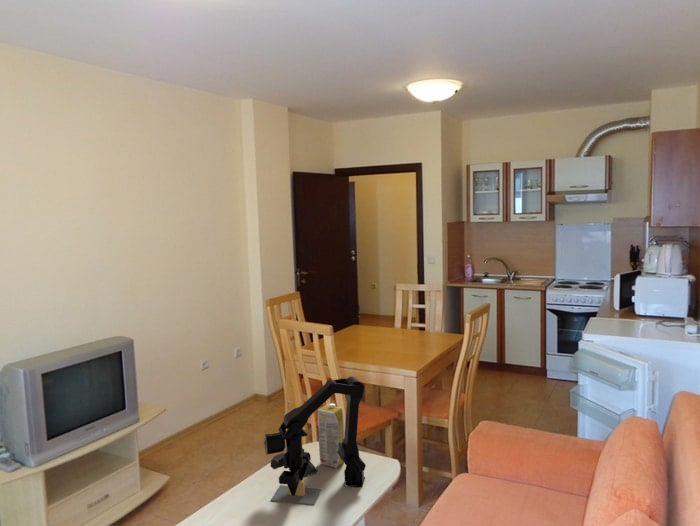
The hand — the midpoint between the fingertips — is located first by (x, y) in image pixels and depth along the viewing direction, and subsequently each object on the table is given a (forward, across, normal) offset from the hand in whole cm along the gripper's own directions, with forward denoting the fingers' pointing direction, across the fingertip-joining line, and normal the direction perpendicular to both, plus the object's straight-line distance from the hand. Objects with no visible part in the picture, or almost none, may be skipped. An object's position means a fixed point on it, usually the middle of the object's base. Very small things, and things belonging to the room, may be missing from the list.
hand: (296, 490), depth 190 cm
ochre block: (+2, 0, 0) cm, 2 cm away
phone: (+3, -20, -4) cm, 21 cm away
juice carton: (+2, -25, +7) cm, 26 cm away
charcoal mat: (+2, 0, 0) cm, 2 cm away
